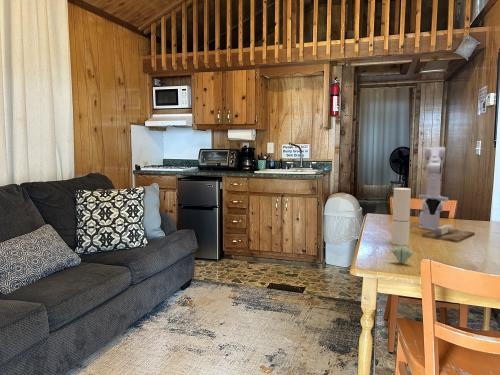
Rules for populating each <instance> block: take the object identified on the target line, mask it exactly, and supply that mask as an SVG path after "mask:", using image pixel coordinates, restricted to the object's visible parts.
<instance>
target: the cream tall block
mask: <svg viewBox="0 0 500 375" xmlns="http://www.w3.org/2000/svg"><path fill="white" fill-rule="evenodd" d="M411 195H412V188H409V187H394V188H393V196H392V197H393V200H392V202H393V203H392V227H391V228H392V229H391V230H392V231H391V243H392V245H395V244H397V245H396V246H408V245H409V244H410V223H411V222H410V221H411V219H410V218H411Z"/></svg>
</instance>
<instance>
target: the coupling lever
mask: <svg viewBox="0 0 500 375" xmlns="http://www.w3.org/2000/svg"><path fill="white" fill-rule="evenodd" d="M453 229H454V225H453V224H446V223H445V224H442V225H441V226H439V227H438V228H435V235H437V236H441V235H442V234H445V233H451V232H453Z"/></svg>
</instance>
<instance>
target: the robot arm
mask: <svg viewBox="0 0 500 375" xmlns="http://www.w3.org/2000/svg"><path fill="white" fill-rule="evenodd" d="M445 158H446V147H445V146H425V147H424V163H425V164H426V165H427V166H426V175H427V176H426V178H427V180H426V181H427V182H426V183H427V184H426V185H427V186H426V188H427V189H426V194H418V199H422V205H421V207H422V208H421V211H420V213H419V217H418V219H419V220H418V226H417V227H418V229H419V228H420V229H426V230H430V231H433V230H435V228H438V227H440V217H441V216H440V215H441V213H442V212H443V209H444V203H446V202H447V203H448V202H449V197H446V196H443V195H441V181H442V180H441V179H442V178H441V175H442V173H443V164H444V162H445Z"/></svg>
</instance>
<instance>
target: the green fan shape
mask: <svg viewBox="0 0 500 375" xmlns="http://www.w3.org/2000/svg"><path fill="white" fill-rule="evenodd" d="M390 252H391V253H392V254H393V256H394V257H396V260H397V261H398V263H399V264H401V265H402V264H405V263H407V261H408V260H409V259H410V258H411V257H412V256H413V255H414V252H413V251H411V250H410V249H408V248H407V247H406V245H399V247H396V248H392V249H391V250H390Z"/></svg>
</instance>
